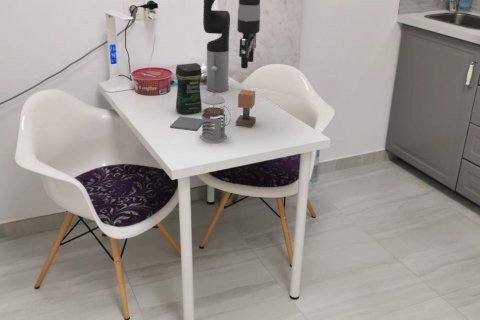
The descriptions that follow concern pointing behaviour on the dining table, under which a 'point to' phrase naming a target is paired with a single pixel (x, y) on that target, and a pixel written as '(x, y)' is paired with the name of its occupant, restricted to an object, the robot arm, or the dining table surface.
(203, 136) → the french press
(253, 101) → the orange cube
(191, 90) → the coffee jar
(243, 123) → the post stand
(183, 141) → the dining table surface
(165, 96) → the dining table surface
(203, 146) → the dining table surface
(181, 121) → the mat
